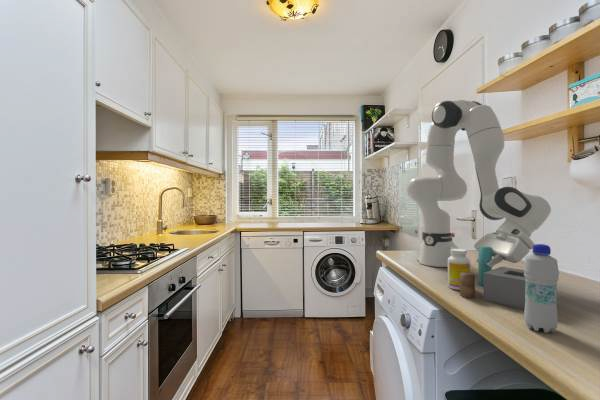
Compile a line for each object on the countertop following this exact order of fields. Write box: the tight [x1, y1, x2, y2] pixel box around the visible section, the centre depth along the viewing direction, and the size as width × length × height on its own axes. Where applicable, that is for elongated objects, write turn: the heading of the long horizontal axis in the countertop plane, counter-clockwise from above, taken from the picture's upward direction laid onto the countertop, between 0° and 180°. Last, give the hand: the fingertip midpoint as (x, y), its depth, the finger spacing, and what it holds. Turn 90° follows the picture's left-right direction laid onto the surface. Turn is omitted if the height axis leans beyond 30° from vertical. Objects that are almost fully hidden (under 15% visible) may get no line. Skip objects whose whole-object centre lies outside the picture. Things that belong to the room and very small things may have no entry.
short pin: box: [459, 272, 476, 299], centre depth 100 cm, size 4×4×7 cm
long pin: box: [477, 246, 493, 287], centre depth 112 cm, size 4×4×13 cm
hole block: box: [482, 266, 526, 310], centre depth 96 cm, size 13×13×8 cm
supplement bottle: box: [447, 248, 471, 291], centre depth 109 cm, size 7×7×13 cm
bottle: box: [523, 243, 560, 334], centre depth 76 cm, size 7×7×20 cm
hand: (483, 264), depth 112 cm, fingers closed on long pin, 4 cm apart
